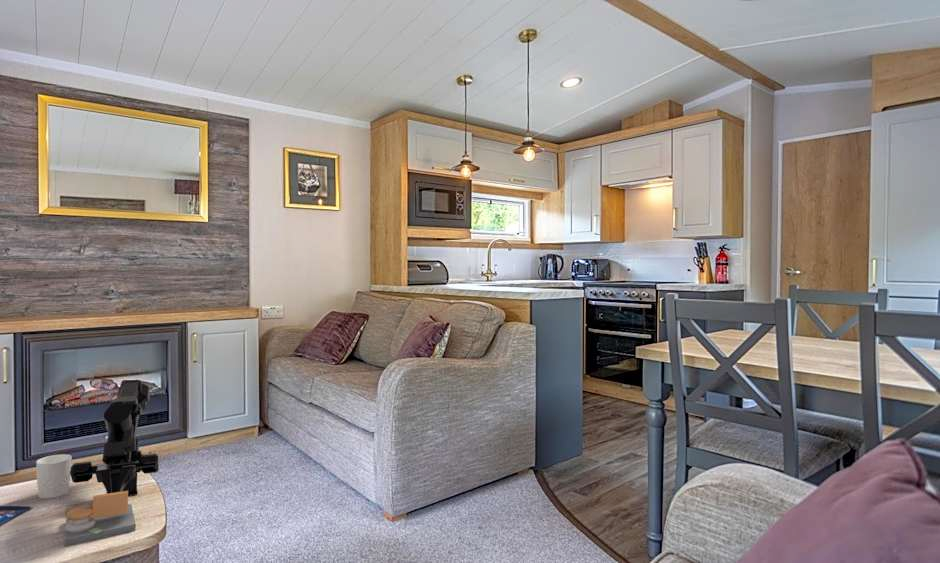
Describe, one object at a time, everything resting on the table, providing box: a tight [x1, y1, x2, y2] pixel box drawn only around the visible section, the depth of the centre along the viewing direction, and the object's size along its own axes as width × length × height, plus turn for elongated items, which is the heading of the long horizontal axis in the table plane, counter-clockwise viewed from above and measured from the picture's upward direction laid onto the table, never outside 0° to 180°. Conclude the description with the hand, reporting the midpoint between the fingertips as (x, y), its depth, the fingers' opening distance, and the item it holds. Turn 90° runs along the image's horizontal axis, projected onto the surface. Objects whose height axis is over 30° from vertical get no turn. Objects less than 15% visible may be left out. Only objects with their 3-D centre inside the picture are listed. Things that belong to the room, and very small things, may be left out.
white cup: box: [35, 453, 73, 500], centre depth 148 cm, size 8×8×10 cm
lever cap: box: [66, 491, 129, 520], centre depth 128 cm, size 12×5×5 cm, turn 121°
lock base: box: [64, 503, 137, 547], centre depth 130 cm, size 14×14×4 cm
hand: (112, 500), depth 130 cm, fingers closed, pressing on lever cap
